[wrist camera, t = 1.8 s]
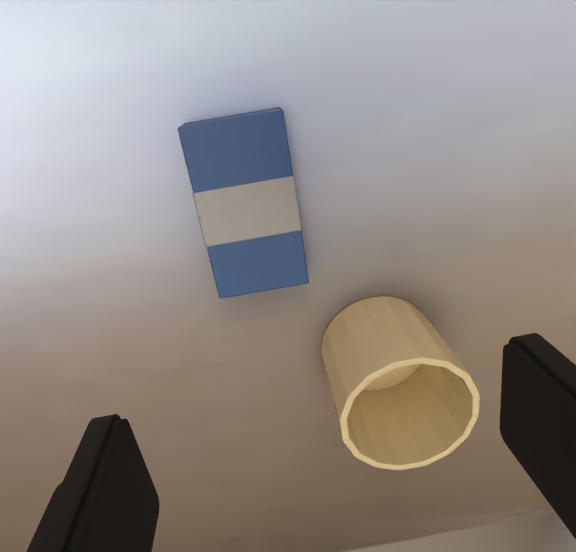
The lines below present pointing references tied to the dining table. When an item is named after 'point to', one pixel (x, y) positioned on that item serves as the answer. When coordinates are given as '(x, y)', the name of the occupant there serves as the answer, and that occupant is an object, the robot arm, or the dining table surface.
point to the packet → (246, 201)
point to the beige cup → (396, 385)
